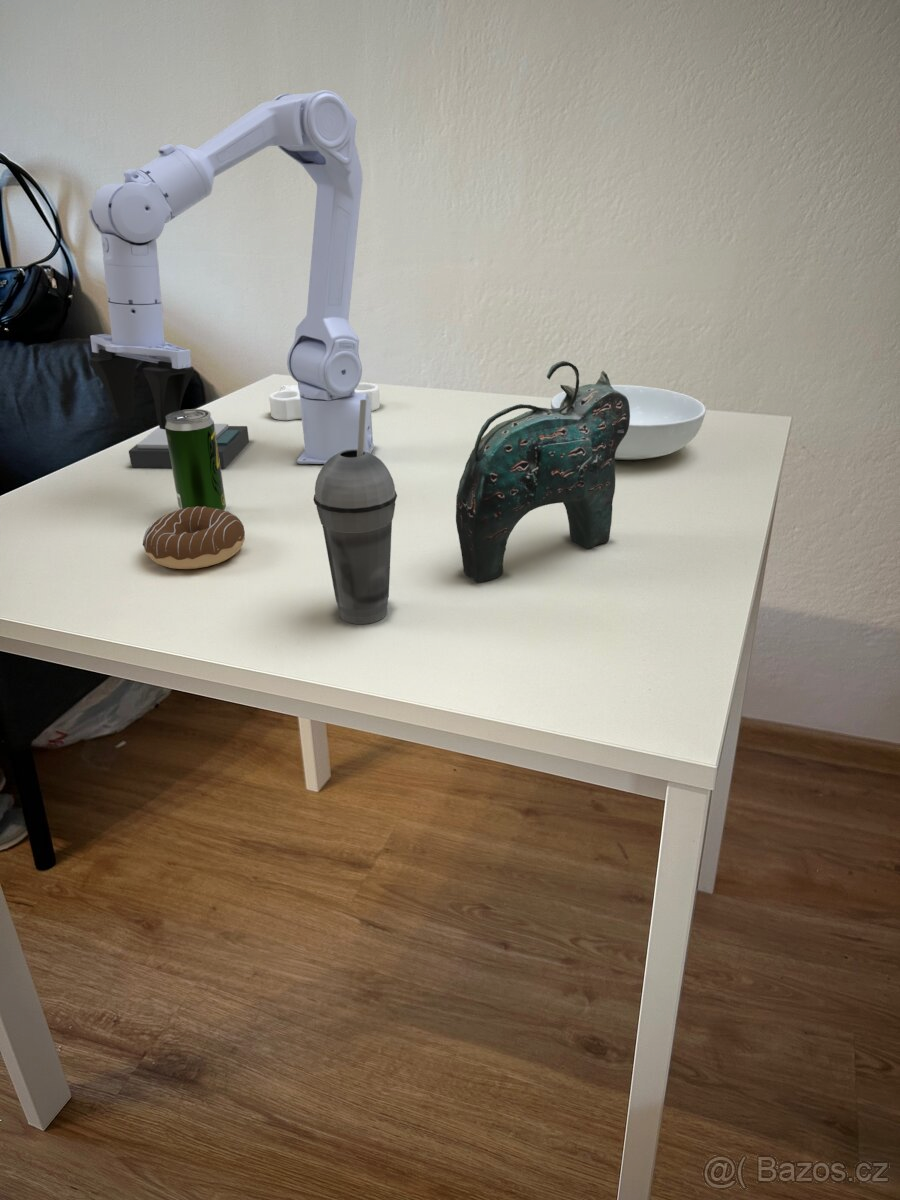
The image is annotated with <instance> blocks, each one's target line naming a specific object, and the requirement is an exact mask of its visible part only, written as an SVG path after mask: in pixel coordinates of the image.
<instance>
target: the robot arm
mask: <svg viewBox="0 0 900 1200" xmlns="http://www.w3.org/2000/svg"><path fill="white" fill-rule="evenodd" d="M357 121H358V120H357V118H356V117H355V115H354V114H353V112H352V111H351V110H350V108H349V106H348V105H347V103H346V102H345V101H344V99H343V98H342V97H341V96H339V95H338V94H337V93H336V92H334V91H333V90H332V91H331V90H328V89H321V90H318V91H315V92H306V93H294V94H293V93H282V94H280V95H277V96H276V97H274V98H273V100H267V101H264V102H262V103H259V105H257V106H256V107H254V108H253V109H251V110H249V111H248V112H247V113H245V114H244V115H243V116H241V117H239V118H238V119H237V120H235V121H234V122H233V123H231V124H230V125H229V126H227V127H225V128H224V129H222V130H221V131H220V132H218V133H217V134H215V135H214V136H212V137H211V138H209V140H206V141H205V142H204V143H202V144H201V145H200V146H198V147H197V148H196V149H195V148H192V147H190V146H187V145H185V144H182V143H181V144H180V143H179V144H177V145H176V146H174V145H173V144H172V143H169V144H164V145H163V146H161V147H160V148H158V149H157V151H158V154H159V156H158V157H156V158H154V159H153V160H150V161H149V162H148V163H146V164H145V165H143V166H141V167H140V168H138V169H135V168H128V169H127V170H125V171H124V172H123V176H124V182H123V183H120V182H119V183H117V182H116V183H115V182H113V183H107V184H105V185H102V187H100V188H99V189H98V190H97V191H96V192H95V194H94V195H95V197H93V199H92V203H91V209H89V210H88V215H89V218H90V221H91V223H92V225H93V227H94V228H95V229H96V231H97V232H98V233H99V234H100V236H101V238H100V239H101V246H102V255H103V256H102V257H103V258H102V261H103V270H104V280H105V288H106V297H107V307H108V316H109V325H110V334H107V333H101V334H92V335H90V336H89V337H90V345H91V352H92V353H94V354H97V357H91V358H89V359H88V363H89V366H90V367H91V368H92V370H93V371H94V372H95V374H96V375H97V377H98V378H99V380H100V382H101V384H102V386H103V388H104V390H105V392H106V395H107V397H108V400H109V403H110V404H111V408H112V411H113V413H114V416H115V418H116V419H124V418H131V417H133V416H134V413H135V388H134V387H135V376H136V370H137V365H138V361H143V362H148V363H153V364H157V365H156V366H149V367H144V368H142V372H143V374H144V376H145V378H146V380H147V383H148V384H149V387H150V391H151V393H152V397H153V401H154V407H155V413H156V418H157V419H156V420H157V423H158V428H159V427H160V429H165V424H166V418H165V417H166V415H168V414H169V413H172V412H175V411H180V410H181V407H182V403H183V398H184V396H185V393H186V390H187V388H188V385H189V383H190V382H191V379H192V378H193V375H194V374H195V372H194V371H195V370H194V367H193V366H192V355H191V349H188V348H183V347H181V346H178V345H176V344H173V343H170V342H167V341H166V340H165V328H164V326H165V325H164V314H163V313H164V312H163V303H162V291H161V290H162V289H161V280H160V279H161V278H160V268H159V267H160V266H159V257H158V245H157V240H158V239H159V237H160V236H161V235H162V233H163V231H164V228H165V224H167V223H169V222H170V221H172V220H173V219H175V218H177V217H178V216H180V215H181V214H183V213H185V212H186V211H187V210H189V209H190V208H192V207H194V206H196V205H197V204H198V203H200V202H202V201H203V200H204V199H206V198H208V197H209V196H211V194H212V192H213V191H212V190H213V185H214V180H215V177H217V176H219V175H221V174H222V173H224V172H226V171H229V169H231V168H233V167H234V166H236V165H238V164H240V163H242V162H244V161H245V160H247V159H249V158H251V157H253V156H254V155H256V154H258V153H259V152H261V151H263V150H264V149H266V148H268V147H277V149H280V151H282V152H283V153H284V154H286V155H287V156H288V157H290V158H291V159H293V160H294V161H295V162H296V163H298V164H299V165H301V166H302V167H303V168H304V170H305V171H306V173H307V174H308V175H309V176H310V177H311V179H312V180H313V182H314V183H315V184H316V199H315V208H314V209H315V210H314V223H313V234H312V246H311V256H310V257H311V259H310V268H309V269H310V270H309V281H308V283H309V284H308V295H307V304H306V305H307V307H306V315H305V317H303V319H302V320H301V321H300V322H299V324H298V325H297V326H296V328H295V335H294V340H293V343H292V345H291V347H290V348H289V351H288V353H287V357H286V366H287V370H288V373H289V375H290V376H291V378H292V379H293V380H294V381H295V382H297V385H298V390H299V393H300V403H301V414H302V419H301V422H302V423H301V424H302V434H303V435H302V436H303V445H304V449H303V451H302V452H301V454H300V456H299V457H298V458H297V461H296V462H297V464H298V465H299V464H301V465H302V464H303V465H324V464H325V463H326V462H327V461H328V460H329V459H330V458H331V457H333V456H334V455H336V454H337V453H340V452H343V451H346V450H357V447H358V431H359V414H360V400H362V399H364V400H366V417H365V434H364V450H363V451H366V452H369V453H371V454H372V451H373V450H374V448H375V444H374V439H373V438H374V437H373V420H372V419H373V418H372V411H371V403H370V398H369V395H368V394H365V393H357V392H355V388H356V387H357V386H358V384H359V383H361V380H362V375H363V365H362V361H361V357H360V353H359V345H360V339H359V338H358V336H357V334H356V332H355V330H354V329H353V327H352V325H351V323H350V322H349V319H350V311H351V310H350V309H351V307H350V306H351V299H352V288H353V278H354V268H355V259H356V247H357V237H358V228H359V219H360V209H361V208H360V207H361V198H362V188H363V169H362V164H361V161H360V157H359V152H358V148H357V143H356V132H357Z"/></svg>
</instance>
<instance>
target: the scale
mask: <svg viewBox="0 0 900 1200" xmlns="http://www.w3.org/2000/svg"><path fill="white" fill-rule="evenodd" d="M214 426H215V433H216V439H217V446H218V453H219V460H220V467H221V470H224V469H226V468H227V467H228V466H229V464H230V463H232V461H233V460H235V458H236V457H237V455H239V454H240V453H241V452H242V450H243V449H244V448H245V447H246V446H247V445H248V444H249V442H250V437H249V436H250V435H249V428H248V426H247V425H229V423H214ZM128 455H129V460H130V465H131V468H132V469H133V468H137V469H138V468H140V469H142V468H143V469H144V468H145V469H172V465H171V459H170V453H169V448H168V442H167V436H166V430H165V429H160V427H159V426H158V427H157V428H156V429H154V430H153V431H152V432H151V433H150V434H148V435H147V436H146V437H144V438H143V439H141V440H140V441H139V442H138V443H137V444H135V445H134V446H133V447H132V448H130V449H129V450H128Z"/></svg>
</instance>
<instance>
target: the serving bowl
mask: <svg viewBox="0 0 900 1200" xmlns="http://www.w3.org/2000/svg"><path fill="white" fill-rule="evenodd" d="M611 386H612V388H613V389H614V390H616V391H618V392H620V393H622V394H623V395H625V396H626V397H627V399H628V401H629V407H630V423H629V428H628V431H627V433H626V435H625V437H624V438H623V439H622V441H621V442H620V444H619V446H618V447H617V450H616V452H615V461H617V460H618V461H639V460H644V459H653V458H658V457H663V456H667V455H670V454H673V453H675V452H677V451H679V450H681V449H682V448H684V447H686V446H687V445H688V444H689V443H691V441H693V439H694V438H696V436H697V435H698V433H699V431H700V429H701V427H702V425H703V423H704V420H705V416H706V414H707V413H706V412H707V409H706V406H705V405H704V404H703V402H702V401H700V400H698V399H696V398H694V397H692V396H690V395H687V394H684V393H681V392H677V391H673V390H670V389H665V388H664V389H663V388H658V387H652V386H643V385H632V384H611ZM565 396H566V393H565V391H564V390H563V391H561V392H559V393H557V394H556V395H554V396H553V397H552V399H550V409H554V408H560V405H561V402H562V401H563V399H564V398H565Z"/></svg>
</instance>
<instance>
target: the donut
mask: <svg viewBox="0 0 900 1200" xmlns="http://www.w3.org/2000/svg"><path fill="white" fill-rule="evenodd" d="M245 538H246V531H245V526H244V524H243V523H242V521H241V519H240V518H239V517H238V516H237V515H235V514H233V513H231V512H229V511H227V510H225V511H224V510H221V509H215V508H209V507H188V508H184V509H179V508H178V509H176V510H174V511H172V512H169V513H167V514H164V515H163V516H161V517H158V518H157V519H156V520H154V521H153V522H152V523H151V524H150V525H149V526H148V527H146V530H145V532H144V535H143V539H142V547H143V548H144V551H145V553H146V555H147V556H148V557H149V559H151V560H152V561H153V562H154V563H156V564H158V565H160V566H163V567H166V568H169V569H176V570H177V569H178V570H192V569H193V570H195V569H200V568H208V567H211V566H213V565H218V564H220V563H222V562H224V561H226V560H229V559H231V558H232V557H233V556H235V555H236V554H237V553H238V552H239V551H240V550H241V548H242V547H243V544H244V542H245Z"/></svg>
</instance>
